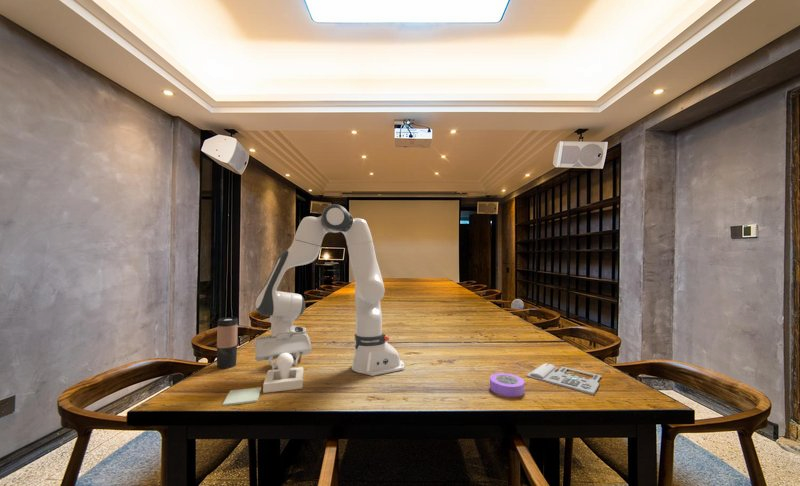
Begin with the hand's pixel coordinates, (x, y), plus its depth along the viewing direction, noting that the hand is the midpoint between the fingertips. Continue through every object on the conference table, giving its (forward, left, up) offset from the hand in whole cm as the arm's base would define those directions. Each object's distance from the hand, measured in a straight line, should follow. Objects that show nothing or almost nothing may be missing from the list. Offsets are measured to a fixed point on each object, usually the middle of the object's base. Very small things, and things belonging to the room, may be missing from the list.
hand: (285, 367), depth 115 cm
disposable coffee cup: (-2, -23, -6) cm, 24 cm away
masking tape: (-77, +26, -6) cm, 82 cm away
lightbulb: (0, -1, -6) cm, 6 cm away
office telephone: (-106, +23, -7) cm, 109 cm away
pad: (+13, +7, -6) cm, 16 cm away
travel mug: (+25, -26, -6) cm, 36 cm away
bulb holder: (0, -1, -6) cm, 6 cm away
